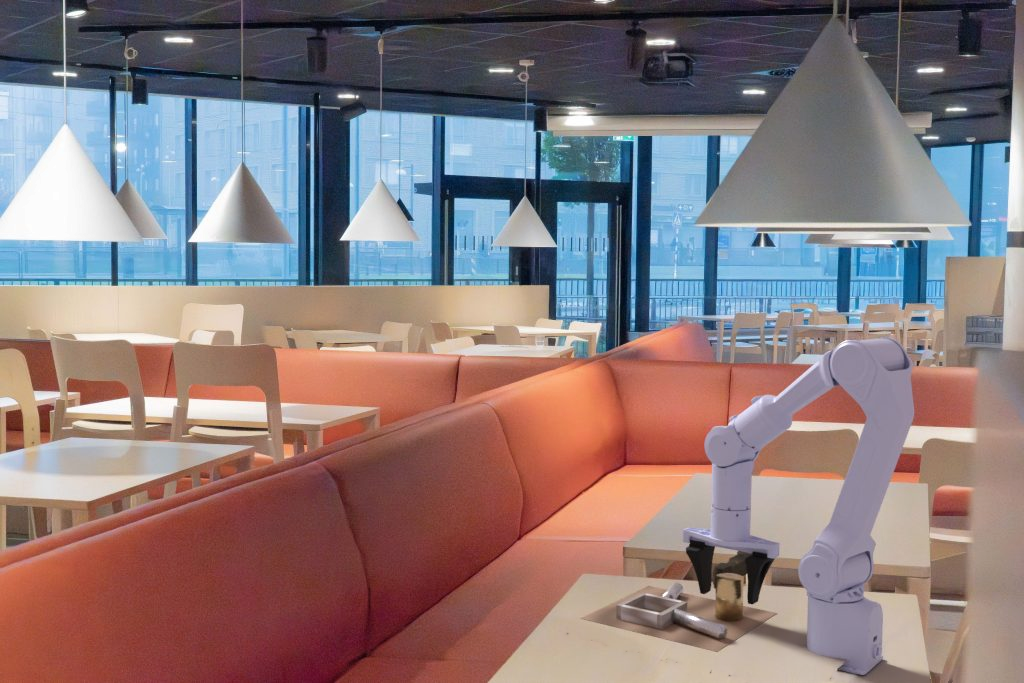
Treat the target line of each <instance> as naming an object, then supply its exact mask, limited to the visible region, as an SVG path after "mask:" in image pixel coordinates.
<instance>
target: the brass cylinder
mask: <svg viewBox="0 0 1024 683" xmlns="http://www.w3.org/2000/svg"><path fill="white" fill-rule="evenodd" d="M744 579H745V578H744V576H741V575H738V574H733V573H721V574H717V575H716V588H715V598H714V600H715V617H716V618H717V619H720V620H723V621H739V620H742V619H743V606H744V582H745V581H744Z"/></svg>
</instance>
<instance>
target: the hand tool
mask: <svg viewBox="0 0 1024 683" xmlns="http://www.w3.org/2000/svg"><path fill="white" fill-rule="evenodd" d="M749 556H752V553H748V552H742V551H737V552H736V554H735V555H734V556H732V557H729V559H728V561H727V562H720V563H718V564H717V565H715V566H714V567H713V572H712V574H713V576H712V577H713V578H712V580H713V581H712V585H713V589H716V575H717V574H721V573H733V574H738V575H741V576H743V577H744V576H746V575H747V568H746V563H745V558H747V557H749Z"/></svg>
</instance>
